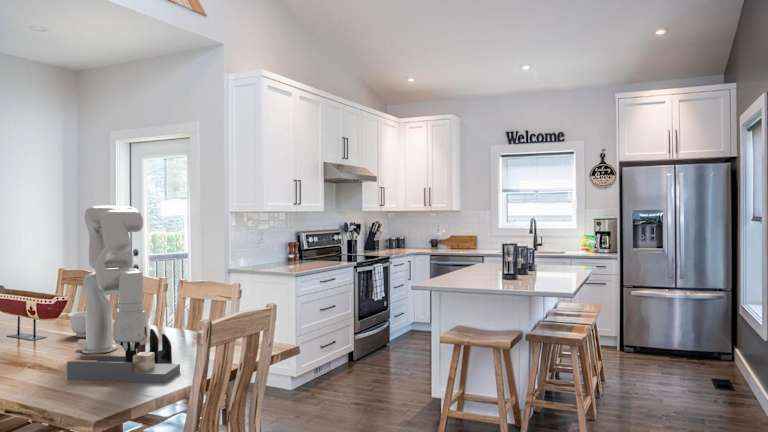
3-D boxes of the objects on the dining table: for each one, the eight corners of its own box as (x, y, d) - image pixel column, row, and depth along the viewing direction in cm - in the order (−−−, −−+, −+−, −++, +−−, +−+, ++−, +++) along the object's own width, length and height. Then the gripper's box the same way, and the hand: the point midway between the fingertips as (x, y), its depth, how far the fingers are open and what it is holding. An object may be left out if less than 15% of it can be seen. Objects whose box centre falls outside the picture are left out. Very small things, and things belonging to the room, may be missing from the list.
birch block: (132, 370, 185) (132, 355, 185) (140, 366, 190) (140, 351, 190) (147, 371, 184) (147, 356, 184) (154, 366, 189) (154, 352, 189)
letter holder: (142, 369, 198) (142, 329, 197) (136, 356, 215) (136, 320, 215) (172, 365, 203) (172, 327, 202) (163, 353, 220) (163, 317, 220)
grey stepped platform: (63, 381, 183) (63, 362, 182) (85, 370, 195) (85, 352, 194) (164, 383, 181) (164, 364, 181) (180, 372, 193) (180, 354, 193)
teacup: (71, 341, 238) (71, 317, 238) (65, 334, 250) (65, 312, 250) (102, 337, 246) (102, 314, 246) (95, 331, 258) (95, 309, 257)
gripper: (103, 309, 184) (103, 364, 184) (147, 309, 183) (147, 364, 183) (115, 305, 191) (115, 358, 192) (157, 305, 191) (157, 358, 191)
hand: (131, 361), depth 187 cm, fingers closed
